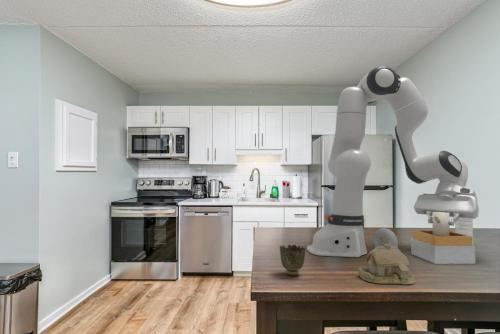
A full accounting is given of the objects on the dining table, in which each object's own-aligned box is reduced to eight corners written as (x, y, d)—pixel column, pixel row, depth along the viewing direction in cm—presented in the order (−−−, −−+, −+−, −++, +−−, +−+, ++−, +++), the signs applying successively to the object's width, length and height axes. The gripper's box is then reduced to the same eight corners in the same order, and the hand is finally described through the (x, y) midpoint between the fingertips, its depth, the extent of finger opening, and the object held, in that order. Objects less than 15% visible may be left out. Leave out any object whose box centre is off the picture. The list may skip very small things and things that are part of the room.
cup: (287, 280, 87) (287, 250, 87) (274, 272, 94) (275, 245, 94) (310, 277, 90) (310, 248, 90) (296, 270, 96) (296, 243, 97)
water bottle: (462, 243, 142) (462, 187, 142) (476, 246, 135) (476, 187, 136) (447, 244, 139) (447, 186, 140) (461, 247, 133) (460, 187, 134)
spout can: (435, 234, 117) (435, 211, 117) (451, 236, 113) (451, 212, 113) (427, 237, 111) (426, 212, 111) (443, 239, 107) (443, 214, 107)
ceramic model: (396, 272, 96) (396, 239, 96) (423, 285, 85) (422, 247, 85) (353, 274, 93) (353, 240, 93) (375, 287, 82) (375, 248, 82)
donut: (371, 252, 120) (371, 226, 121) (377, 252, 122) (377, 225, 122) (393, 259, 112) (393, 230, 112) (400, 258, 113) (400, 229, 113)
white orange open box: (434, 264, 105) (434, 236, 106) (411, 253, 119) (411, 229, 120) (483, 263, 106) (483, 236, 107) (454, 253, 120) (454, 230, 121)
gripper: (417, 188, 126) (407, 214, 119) (479, 190, 111) (472, 220, 104) (421, 199, 129) (412, 225, 122) (482, 202, 114) (475, 232, 107)
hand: (440, 223), depth 113 cm, fingers closed on spout can, 5 cm apart
